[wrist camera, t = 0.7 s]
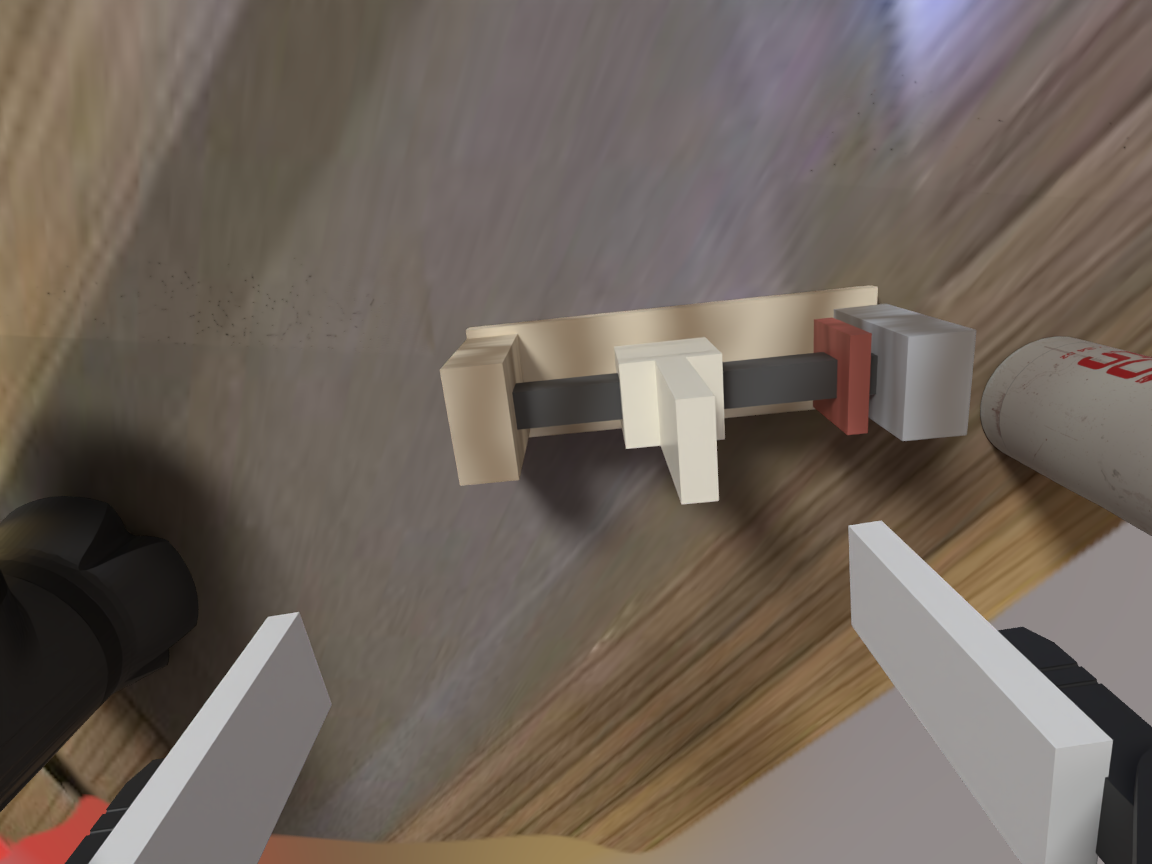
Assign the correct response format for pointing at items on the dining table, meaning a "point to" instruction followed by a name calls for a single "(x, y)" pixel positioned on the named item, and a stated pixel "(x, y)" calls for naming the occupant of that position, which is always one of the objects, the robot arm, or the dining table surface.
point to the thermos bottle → (1078, 420)
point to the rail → (596, 356)
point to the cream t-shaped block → (675, 409)
